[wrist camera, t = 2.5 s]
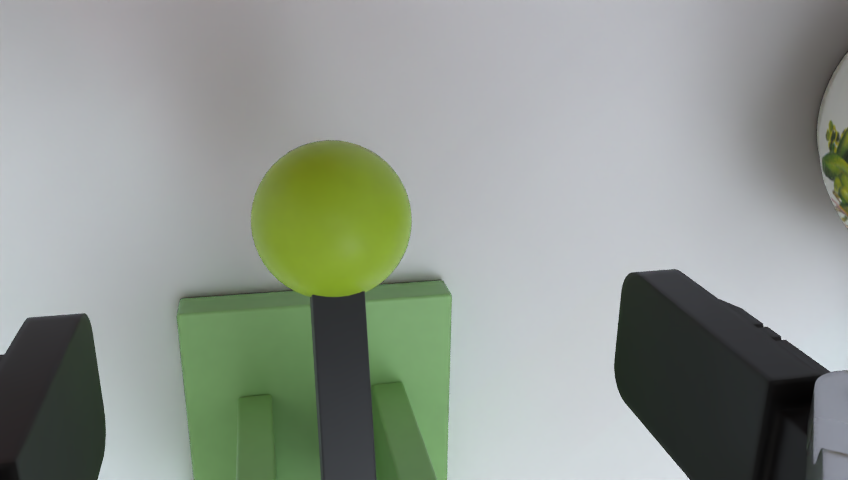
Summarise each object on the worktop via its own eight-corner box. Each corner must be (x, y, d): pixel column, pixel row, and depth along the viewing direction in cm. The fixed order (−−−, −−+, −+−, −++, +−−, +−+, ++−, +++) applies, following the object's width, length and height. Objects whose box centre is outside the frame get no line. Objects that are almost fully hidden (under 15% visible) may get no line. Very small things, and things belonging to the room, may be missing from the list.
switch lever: (248, 155, 18) (243, 130, 15) (393, 149, 19) (419, 125, 16) (281, 728, 18) (285, 834, 15) (428, 703, 19) (463, 797, 15)
